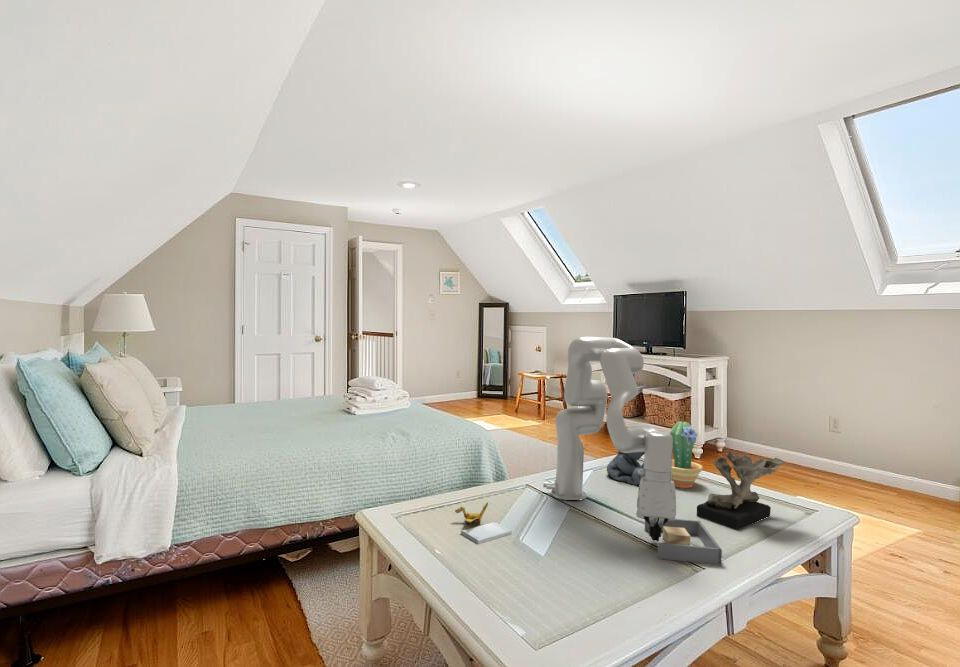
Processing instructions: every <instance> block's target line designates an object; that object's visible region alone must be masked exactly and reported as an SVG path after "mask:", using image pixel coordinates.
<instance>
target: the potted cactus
mask: <svg viewBox="0 0 960 667" xmlns="http://www.w3.org/2000/svg"><path fill="white" fill-rule="evenodd" d="M669 434H670V435H671V436H672V438H673V448H672V454H673V459H672V473H671V480H672V481H673V482H674V484H675V488H676V487H677V488H681V489H682V488H683V489H690V488H689V487H691V488H693V487H694V482H695V481H696V480H697V479H698V477H699V474H700V473H701V472H702V471H703V468H704V467H703V465H701V464H700V463H697V462H694V461H692V459H693V458H692V454H693V448H694V446H695V444H696V442H697V437H698V433H697V432H696V430H695V429H694V428H693V427H692V426H691V424H690V423H689V422H687V421H677V422H676V423H675V425H673V427H672V428H671V430H670V432H669ZM692 486H693V487H692Z"/></svg>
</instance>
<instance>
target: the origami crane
mask: <svg viewBox="0 0 960 667" xmlns="http://www.w3.org/2000/svg"><path fill="white" fill-rule="evenodd" d="M487 507H489V502H485V504H484V505H483V506H482V509H481V511H480V512H474V513H473V512H471V513H470V512H466V508H465V507H463V506H460V508H459V507H457V509H455V510H454V512H455V513H456V514H459V513H461V512H462V513H463V517H464V518H465V519H464V521H465V523H466V525H470V524H471V523H472V522H473V521H475V520H476V519H477V520H476V521H477V524H478V525H480V524H481V520H482V517H483V515H484V513H485V512H486V510H487ZM469 523H470V524H469Z"/></svg>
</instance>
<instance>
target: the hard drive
mask: <svg viewBox="0 0 960 667" xmlns="http://www.w3.org/2000/svg"><path fill="white" fill-rule="evenodd" d="M460 535H462V536H463V537H465V538H468V539H469V540H470V541H472V542H474V543H476V544H477V545H479V544H482V543H486V542H490V541H493V540H496V539H499V538H503V537H506V536H510V535H512V530H511V529H509V528H507V527H505V526H503V525H502V524H499V523H497V522H495V521H493V522H490V523H487V524H482V525H478V526H474V527H470V528H468V529H464V530H460Z"/></svg>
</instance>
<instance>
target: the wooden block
mask: <svg viewBox="0 0 960 667" xmlns="http://www.w3.org/2000/svg"><path fill="white" fill-rule="evenodd" d="M663 540H664V541H663ZM662 541H663V543H664V542H665V543H668V544H679V545H690V546H691V534H688V532H687V531H686V529H685V528H679V527H666V526H663V532H662Z"/></svg>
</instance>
